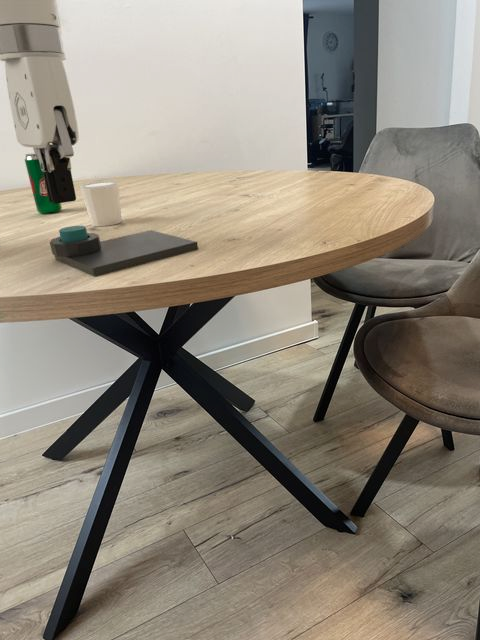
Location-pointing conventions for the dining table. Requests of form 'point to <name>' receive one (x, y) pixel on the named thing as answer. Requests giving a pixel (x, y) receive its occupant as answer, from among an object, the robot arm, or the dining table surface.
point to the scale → (118, 251)
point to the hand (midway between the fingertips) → (62, 201)
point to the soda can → (39, 186)
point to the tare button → (73, 233)
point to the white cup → (102, 203)
